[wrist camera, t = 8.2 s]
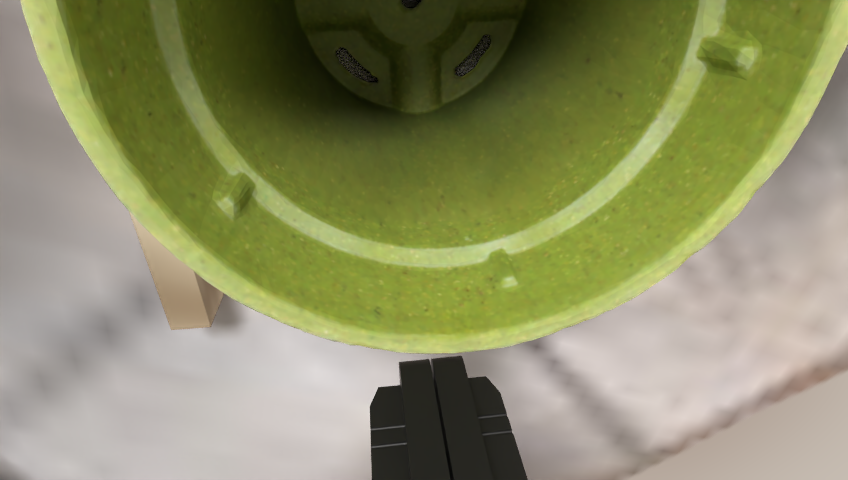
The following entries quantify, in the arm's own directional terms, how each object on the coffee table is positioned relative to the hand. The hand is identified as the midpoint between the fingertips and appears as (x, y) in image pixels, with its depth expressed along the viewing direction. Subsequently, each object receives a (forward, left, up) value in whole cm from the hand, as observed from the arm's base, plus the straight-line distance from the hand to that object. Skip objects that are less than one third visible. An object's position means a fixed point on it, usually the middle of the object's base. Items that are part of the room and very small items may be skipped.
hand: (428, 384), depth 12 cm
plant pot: (-8, 0, -6) cm, 10 cm away
